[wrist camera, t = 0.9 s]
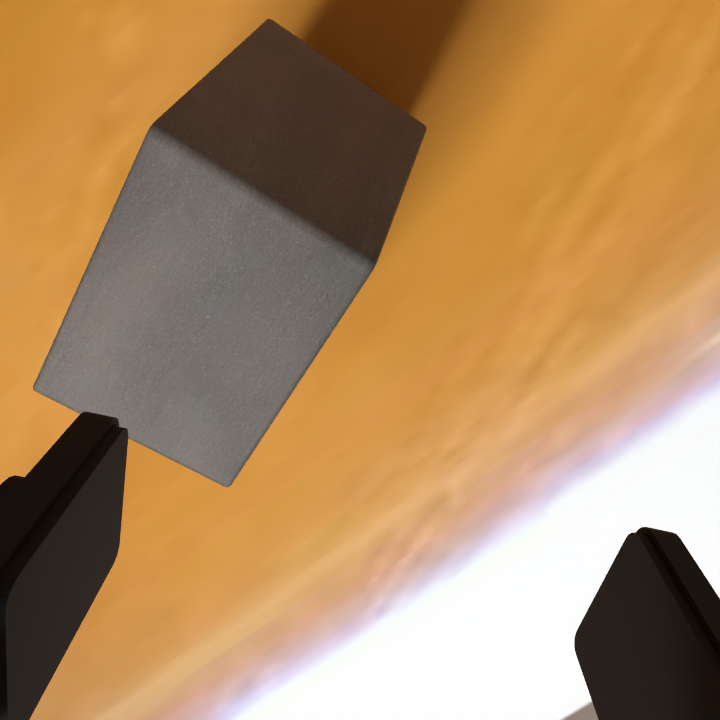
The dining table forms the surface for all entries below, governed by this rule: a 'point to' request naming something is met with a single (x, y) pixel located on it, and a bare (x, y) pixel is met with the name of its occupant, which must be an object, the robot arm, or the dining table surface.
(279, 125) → the planter
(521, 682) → the dining table surface
